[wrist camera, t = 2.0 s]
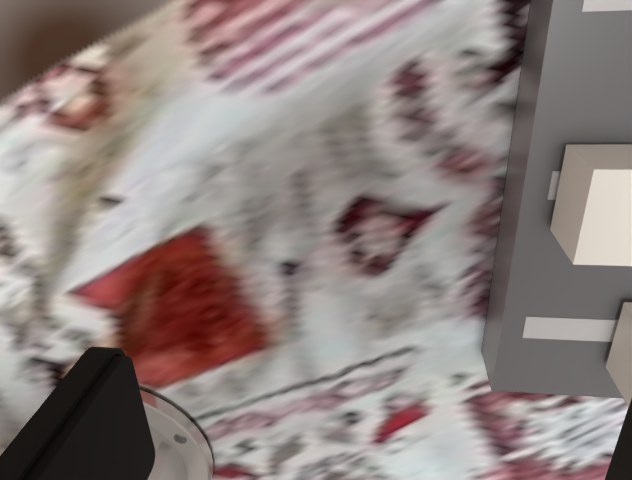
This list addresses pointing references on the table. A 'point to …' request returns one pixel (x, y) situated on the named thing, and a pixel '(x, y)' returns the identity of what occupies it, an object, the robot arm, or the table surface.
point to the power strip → (539, 201)
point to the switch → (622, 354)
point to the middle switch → (595, 205)
